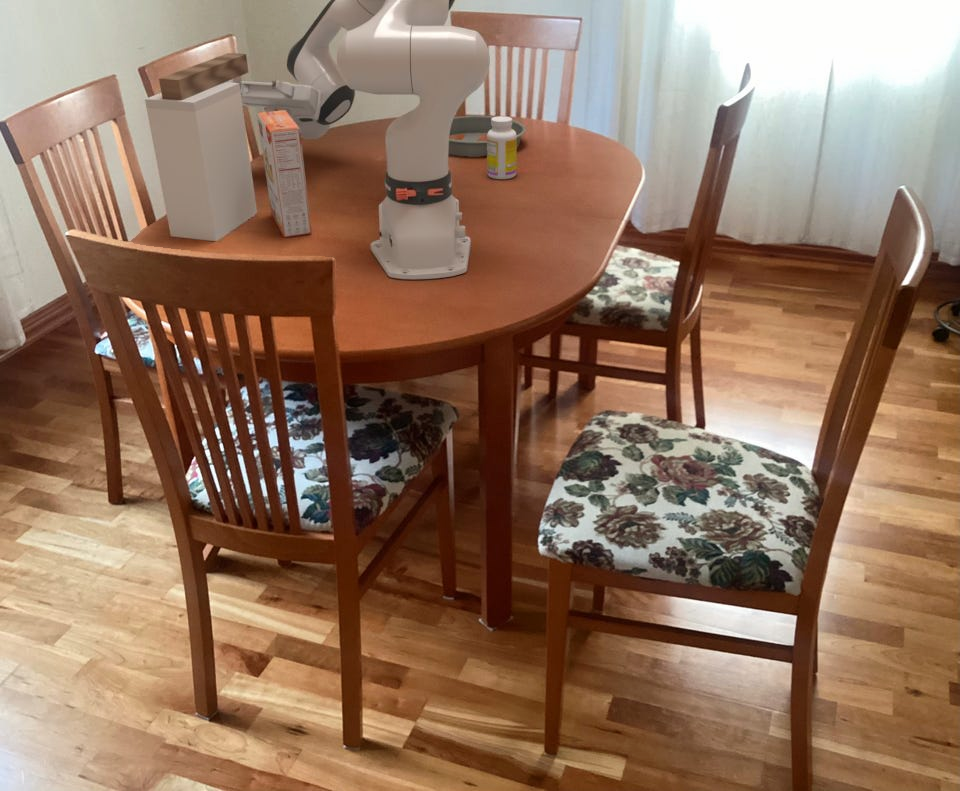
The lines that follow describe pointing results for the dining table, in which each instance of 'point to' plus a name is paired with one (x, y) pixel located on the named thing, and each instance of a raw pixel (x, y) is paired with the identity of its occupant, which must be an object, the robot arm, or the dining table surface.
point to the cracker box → (285, 172)
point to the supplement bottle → (501, 149)
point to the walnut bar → (203, 76)
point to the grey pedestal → (203, 161)
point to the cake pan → (475, 135)
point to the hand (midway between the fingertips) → (254, 82)
